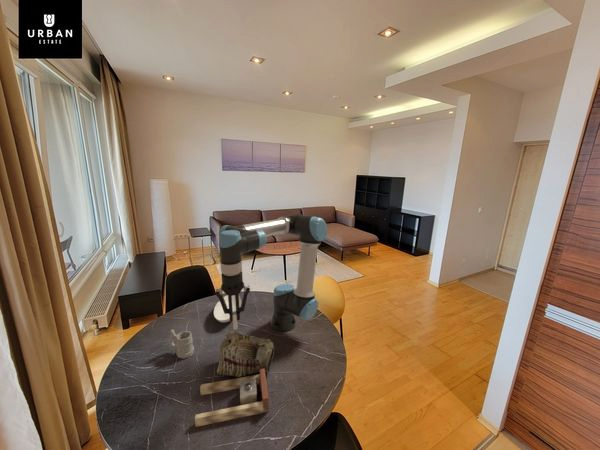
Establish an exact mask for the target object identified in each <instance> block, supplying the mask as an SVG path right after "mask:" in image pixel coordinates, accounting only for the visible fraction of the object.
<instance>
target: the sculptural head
mask: <svg viewBox="0 0 600 450" xmlns="http://www.w3.org/2000/svg"><path fill="white" fill-rule="evenodd" d="M225 336H226V338H225V339H224V340H223V341H222V343H221V344H220V348H219V359H218V360H219V362H218V367H217V369H216V373H217V375H218V376H219V375H220V376H231V377H235V378H242V377H246V376H247V377H248V376H253V375H255V374H257V373H260V369H264V368H265V373H269V372H270V366H271V363H272V360H273V359H274V353H275V347H274V342H272V340H271V339H268V338H267V339H266V338H264V337H262V338H260V337H257V336H253V335H249V334H243V333H239V332H236V331H231V332H229V333H228V334H226V335H225Z"/></svg>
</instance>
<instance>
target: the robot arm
mask: <svg viewBox="0 0 600 450" xmlns="http://www.w3.org/2000/svg"><path fill="white" fill-rule="evenodd" d="M279 234H280V235H283V236H285V235H293V236H297V237H298V242H299V243H300V254H299V262H298V271H297V272H298V273H297V281H296V288H295V287H294V285H293V284H291V283H283V284H279V285H277V286H275V287H274V289H273V294H272V296H273V312H272V315H271V318H270V322H269V323H270V327H271V328H272V329H274V330H275V331H279V332H287V331H291V330H293V329H294V328H295V327H297V317H298V318H299V319H303V320H305V321H308V320H310V319H312V318H313V317H314V316H315V314H316V313H317V311H318V309H319V301H318V299H317V298H315V297H316V292H315V291H314V282H315V275H316V274H315V273H316V263H317V255H318V249H319V246H320V245H321V244H322V242H323V241H325V239H326V236H327V234H328V226H327V223H326V221H325V220H324V219H323V218H322V217H317V216H313V215H312V216H311V215H306V214H305V215H304V214H300V213H299V214H298V213H297V214H288V215H283V216H279V217H278V218H276V219H271V220H265V221H259V222H258V221H257V222H252V223H245V224H239V225H229V224H226V225H225V224H224V225H223V226H221V228H219V229H218V249H219V258H220V259H219V261H220V272H221V275H220V276H221V286H220V287H219V288H216V289H215V295H216V297H217V298H218V300H219V301H220V303H221V306H222V308H223V311H224V313H225V314H229V316H230V321H229V322H232V325H233V330H235V331H236V330H238V321H240V319H241V314H240V313H241V312H244V311H245V308H246V303H247V299H248V295H249V293H250V291H251V287H250V285H246V284H245V282H244V281H243V280H244V279H243V262H242V261H243V259H242V256H243V254H246V253H249V252H252V251H255V250H259V249H261V248H263V247H265V246H266V245H267V243H268V242H267V241H268V240H267V239H268V238H267V237H270V236H276V235H279ZM242 290H243V295H242V299H241V306H240V307H239V296H240V295H239V294H241V292H242ZM223 293H224V294H225V296H227V295H228V302H229V309H228V308H227V305H226V303H225V300H224V297H225V296H224V294H223ZM233 295H235V301H236V311H233V308H232V296H233Z"/></svg>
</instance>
